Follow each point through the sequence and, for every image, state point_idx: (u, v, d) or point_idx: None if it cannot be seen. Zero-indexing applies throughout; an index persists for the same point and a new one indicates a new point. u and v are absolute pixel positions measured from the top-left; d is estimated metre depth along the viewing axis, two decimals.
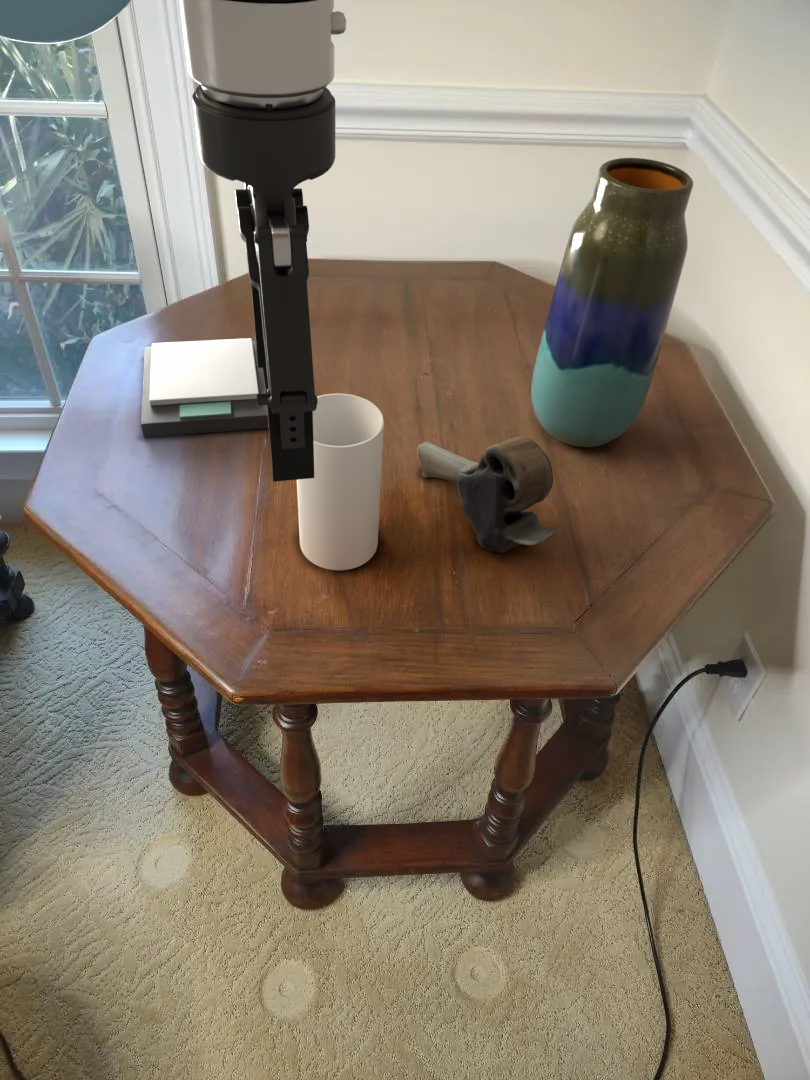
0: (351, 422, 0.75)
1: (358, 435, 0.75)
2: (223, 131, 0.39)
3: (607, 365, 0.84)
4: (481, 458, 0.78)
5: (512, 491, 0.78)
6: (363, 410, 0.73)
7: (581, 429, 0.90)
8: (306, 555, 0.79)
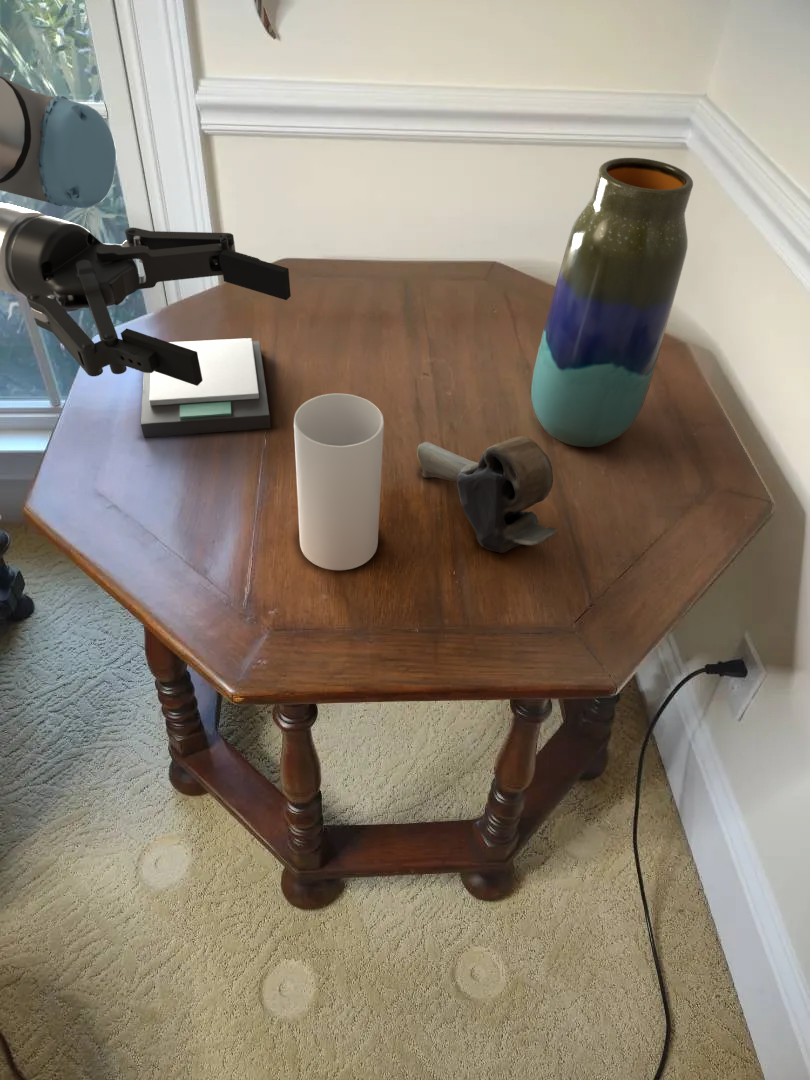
0: (351, 422, 0.75)
1: (358, 435, 0.75)
2: None
3: (607, 365, 0.84)
4: (481, 458, 0.78)
5: (512, 491, 0.78)
6: (363, 410, 0.73)
7: (581, 429, 0.90)
8: (306, 555, 0.79)
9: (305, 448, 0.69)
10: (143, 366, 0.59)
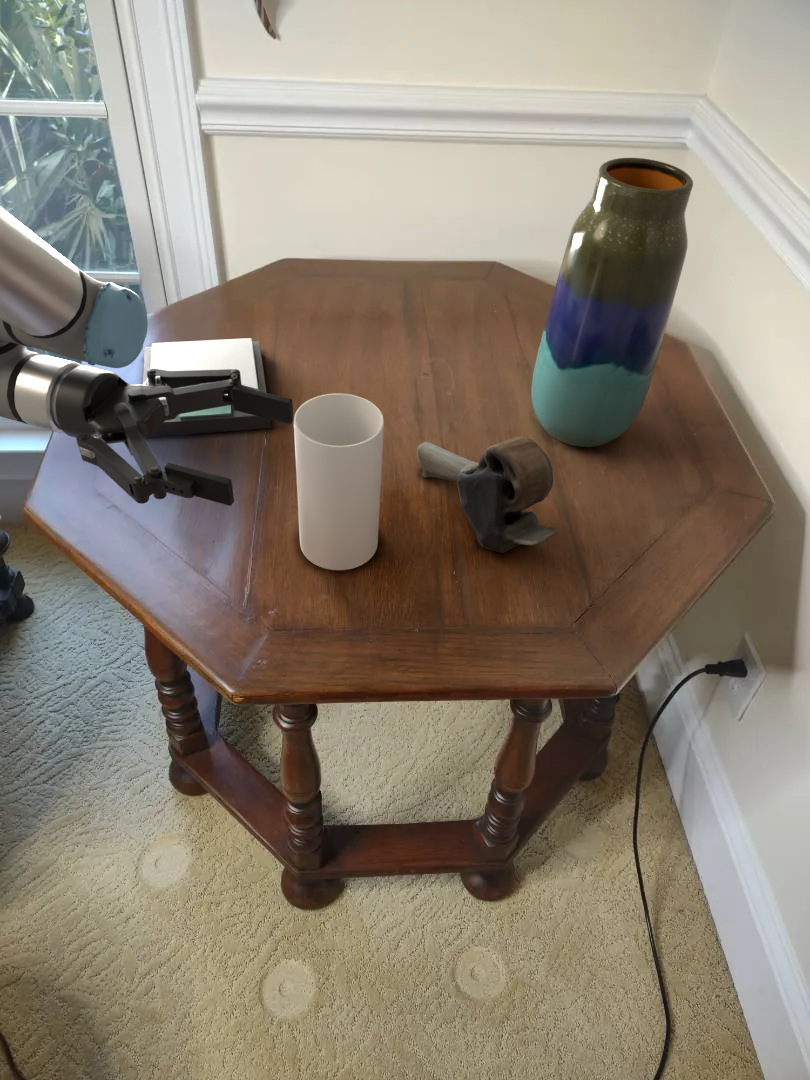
0: (351, 422, 0.75)
1: (358, 435, 0.75)
2: None
3: (607, 365, 0.84)
4: (481, 458, 0.78)
5: (512, 491, 0.78)
6: (362, 410, 0.73)
7: (581, 429, 0.90)
8: (306, 555, 0.79)
9: (305, 448, 0.69)
10: (185, 493, 0.71)
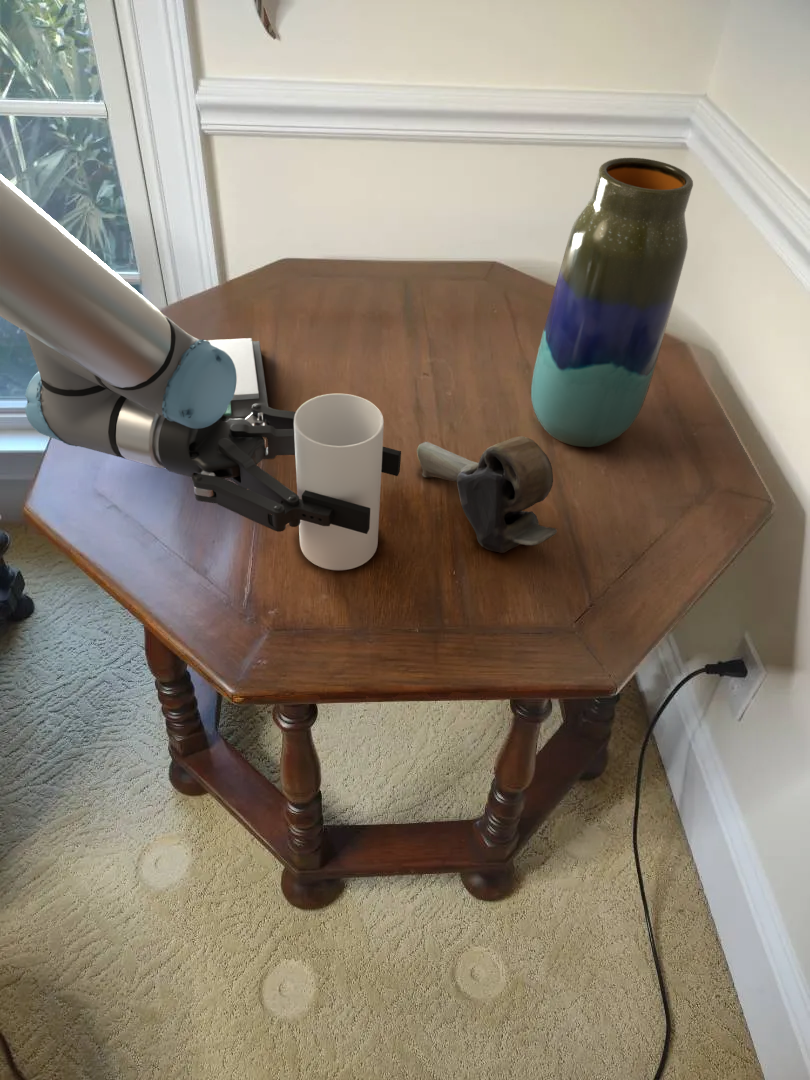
0: (351, 422, 0.75)
1: (358, 435, 0.75)
2: None
3: (607, 365, 0.84)
4: (481, 458, 0.78)
5: (512, 491, 0.78)
6: (362, 410, 0.73)
7: (581, 429, 0.90)
8: (306, 555, 0.79)
9: (305, 448, 0.69)
10: (323, 521, 0.71)
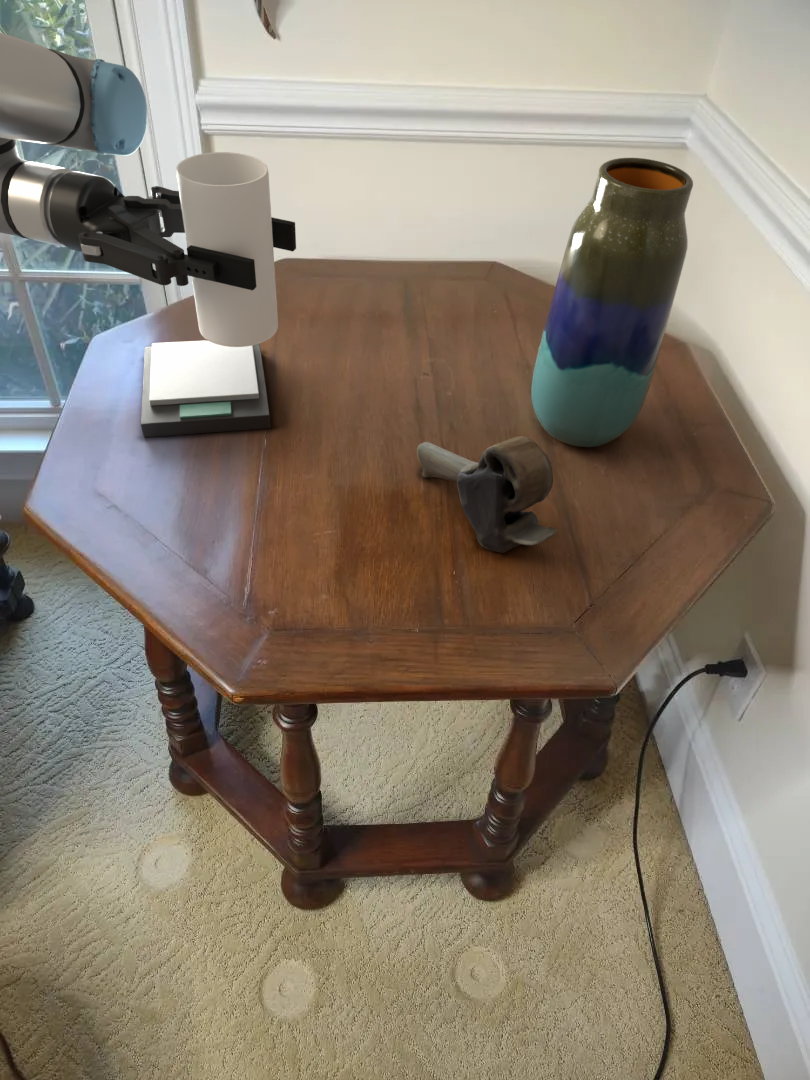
0: None
1: None
2: None
3: (607, 365, 0.84)
4: (481, 458, 0.78)
5: (512, 491, 0.78)
6: (251, 171, 0.73)
7: (581, 429, 0.90)
8: (203, 333, 0.79)
9: (185, 192, 0.68)
10: (207, 274, 0.71)
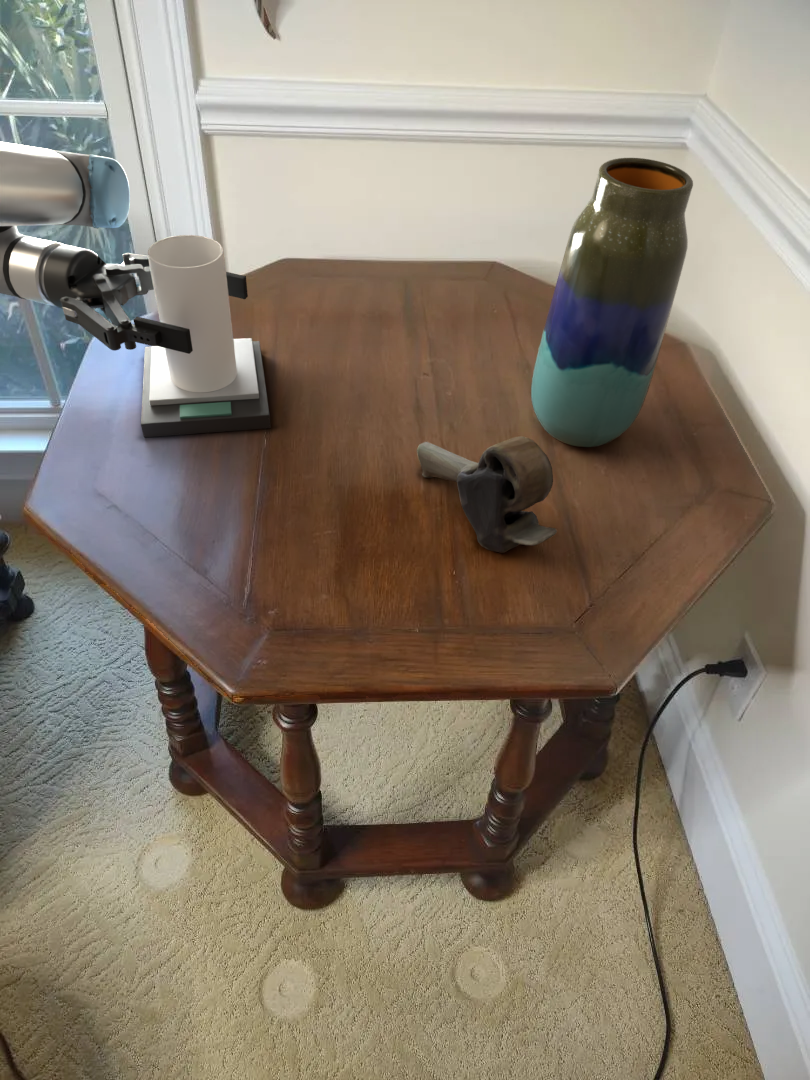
0: (203, 262, 0.90)
1: None
2: None
3: (607, 365, 0.84)
4: (481, 458, 0.78)
5: (512, 491, 0.78)
6: (211, 250, 0.88)
7: (581, 429, 0.90)
8: (173, 381, 0.94)
9: (155, 271, 0.84)
10: (151, 341, 0.85)
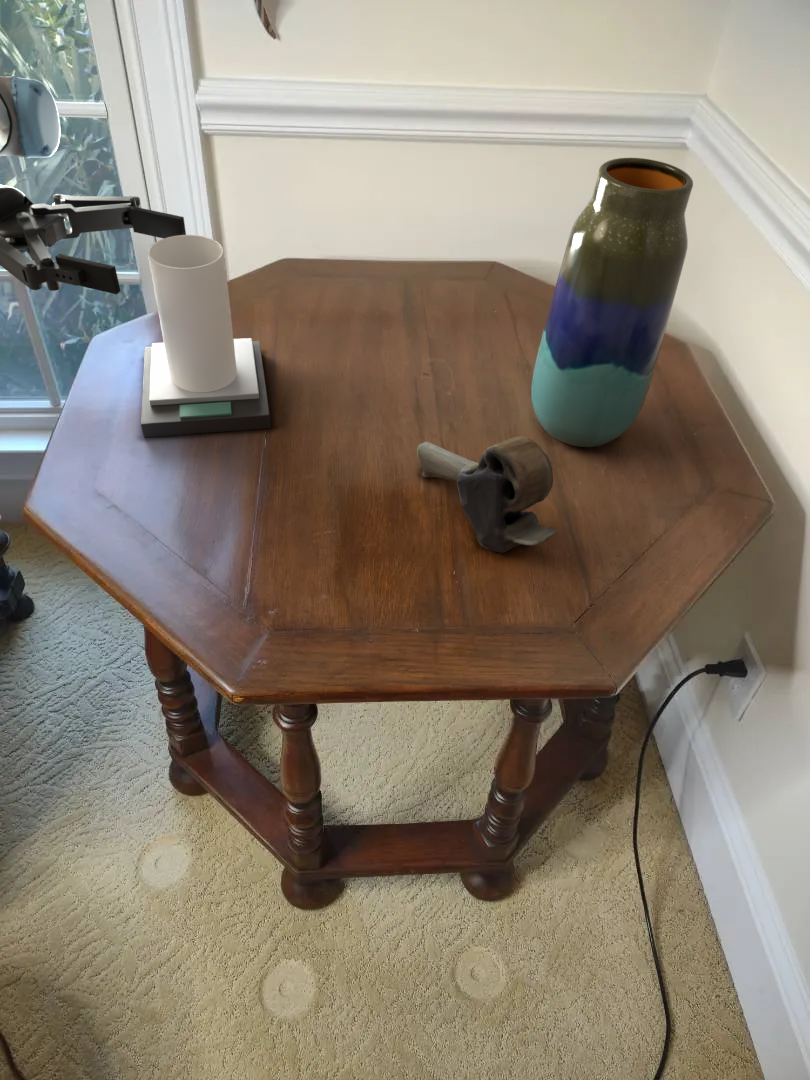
0: (204, 262, 0.90)
1: None
2: None
3: (607, 365, 0.84)
4: (481, 458, 0.78)
5: (512, 491, 0.78)
6: (211, 250, 0.88)
7: (581, 429, 0.90)
8: (173, 381, 0.94)
9: (155, 272, 0.84)
10: (74, 280, 0.78)
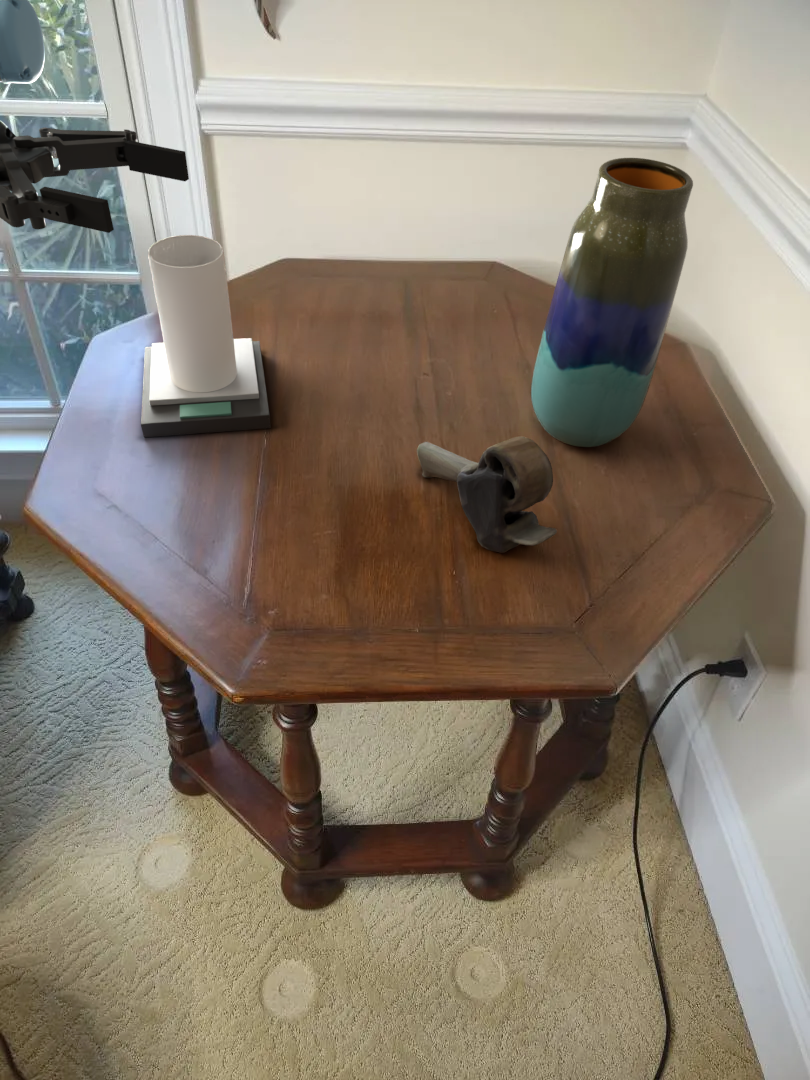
0: (204, 262, 0.90)
1: None
2: None
3: (607, 365, 0.84)
4: (481, 458, 0.78)
5: (512, 491, 0.78)
6: (211, 250, 0.88)
7: (581, 429, 0.90)
8: (173, 381, 0.94)
9: (155, 271, 0.84)
10: (61, 215, 0.69)
